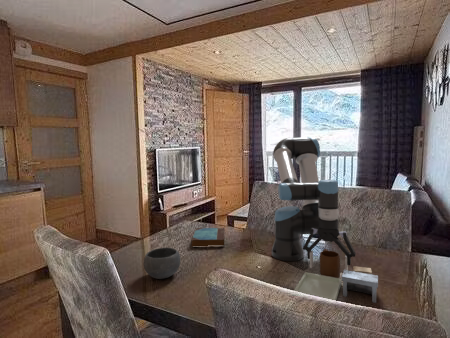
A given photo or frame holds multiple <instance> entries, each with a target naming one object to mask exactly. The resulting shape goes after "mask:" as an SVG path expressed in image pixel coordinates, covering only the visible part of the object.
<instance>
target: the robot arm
mask: <svg viewBox="0 0 450 338" xmlns="http://www.w3.org/2000/svg"><path fill="white" fill-rule="evenodd" d="M320 149H321V145H320V143H319V140H318V139H317V138H315V137H314V136H313V137H310V136H307V137H306V136H305V137H287V138H283V139H281V140H280V141H279V142H277V143H276V144H275V147H274V148H273V153H272V155H273V156H272V157H273V159H274V161H275V162H276V166H277V169H278V175H279V179H280V183H279V184H278V187H277V189H278V190H277V191H278V193H277V194H278V198H279V200H280V201H303V203H304V204H303V205H302V206H301V209H300V207H299V206H296V205H294V206H292V205H291V206H282V207H280V208H278V209H276V210H275V211H274V241H273V245H272V248H271V256H272V257H273V258H274V259H276V260H280V261H282V262H283V261H285V262H293V261H294V262H295V261H299V260H302V259H303V258H304V254H305V253H304V251H306V253H307V255H306V257H307V260H309V269H312V268H313V266H314V251H313V249H315V247H316V245H318V244H319V243H320V242H321V241H324V242H330V243H332V242H334V243H335V244H336V245H337V246H338V247H339V249H340V250H341V251H342V252H343V254H344V255H345V256H344V270H348V271H349V267H348V266H351V263H352V259H351V258H355V257H356V256H357V255H356V250H355V249H354V246H353V245H352V242H351V240H350V239H349V237H348V232H347V231H346V230H344V231H339V219H338V218H339V185H338V184H339V182H338V181H337V180H335V179H334V180H333V179H321V180H319V176H318V170H317V164H316V162H317V161H318V160H319V157H320V155H321V150H320ZM292 159H294V160H295V164H297V165H299V173H300V174H299V175H300V181H301V182H299V180H298V178H297V177H298V176H297V174H296V170H295V167H294V163H293V161H292ZM300 235H308V237H307V238H306V241H305V242H304V244H303V245H302V243H301V241H300V239H301V238H300ZM314 235H318V236H319V237H318V238H317V239H316V240H315V241H314V242H313V243H311V244H310V242H311V240H312V238H313V237H314ZM339 236H341V238H342V239H343V240H344V243H345V244H343V243H342V241H341V239H340V238H339ZM309 244H310V245H309ZM308 245H309V246H308ZM345 245H346V246H347V247H346V246H345ZM347 248H348V249H347Z"/></svg>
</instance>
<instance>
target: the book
mask: <svg viewBox="0 0 450 338" xmlns="http://www.w3.org/2000/svg"><path fill="white" fill-rule="evenodd" d="M225 231H226V229H225V227H222V228H221V227H197V228H195V231H194V233H193V236H192V239H191V247H192V246H208V245H224V246H225V239H226V238H225V233H226V232H225Z"/></svg>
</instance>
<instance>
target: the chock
mask: <svg viewBox="0 0 450 338" xmlns="http://www.w3.org/2000/svg"><path fill="white" fill-rule="evenodd" d="M352 268H353V269H352V271H354V272H359V273H365V274H371V275H373V271H372V268H371V267H364V266H355V265H353V267H352Z"/></svg>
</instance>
